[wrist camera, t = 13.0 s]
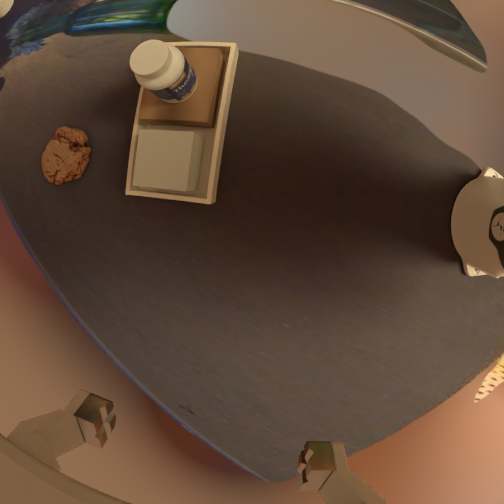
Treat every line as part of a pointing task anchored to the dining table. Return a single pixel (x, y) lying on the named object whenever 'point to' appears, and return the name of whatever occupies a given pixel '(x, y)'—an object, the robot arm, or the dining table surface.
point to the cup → (5, 6)
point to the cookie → (66, 155)
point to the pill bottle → (163, 71)
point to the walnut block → (199, 103)
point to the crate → (211, 135)
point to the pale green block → (168, 160)
